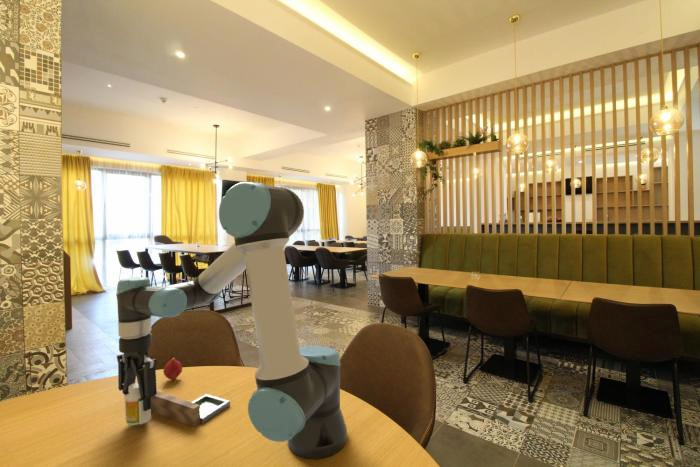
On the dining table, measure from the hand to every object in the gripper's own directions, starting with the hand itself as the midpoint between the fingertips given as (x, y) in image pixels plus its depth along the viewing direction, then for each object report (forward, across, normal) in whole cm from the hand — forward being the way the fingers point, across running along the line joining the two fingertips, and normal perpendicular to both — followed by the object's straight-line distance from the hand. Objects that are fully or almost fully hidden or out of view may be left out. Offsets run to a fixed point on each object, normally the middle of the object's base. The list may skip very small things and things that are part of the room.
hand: (138, 418), depth 90 cm
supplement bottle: (+1, 0, 0) cm, 1 cm away
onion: (+2, +16, -22) cm, 27 cm away
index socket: (+2, -10, -13) cm, 17 cm away
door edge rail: (+2, -4, -7) cm, 8 cm away
